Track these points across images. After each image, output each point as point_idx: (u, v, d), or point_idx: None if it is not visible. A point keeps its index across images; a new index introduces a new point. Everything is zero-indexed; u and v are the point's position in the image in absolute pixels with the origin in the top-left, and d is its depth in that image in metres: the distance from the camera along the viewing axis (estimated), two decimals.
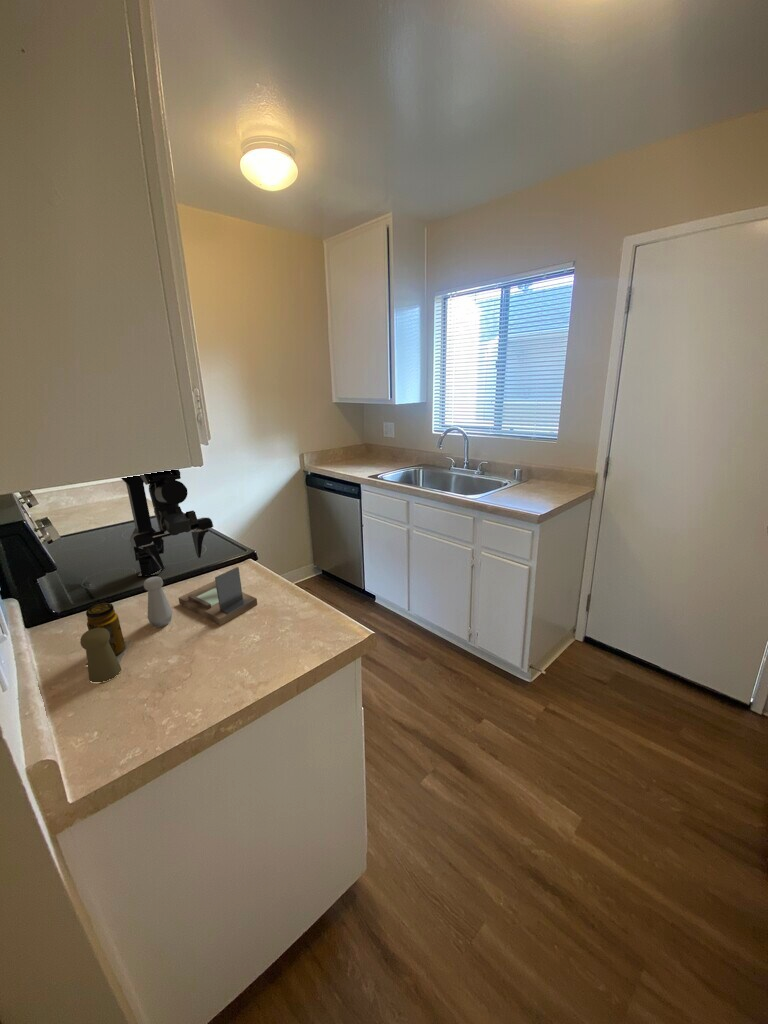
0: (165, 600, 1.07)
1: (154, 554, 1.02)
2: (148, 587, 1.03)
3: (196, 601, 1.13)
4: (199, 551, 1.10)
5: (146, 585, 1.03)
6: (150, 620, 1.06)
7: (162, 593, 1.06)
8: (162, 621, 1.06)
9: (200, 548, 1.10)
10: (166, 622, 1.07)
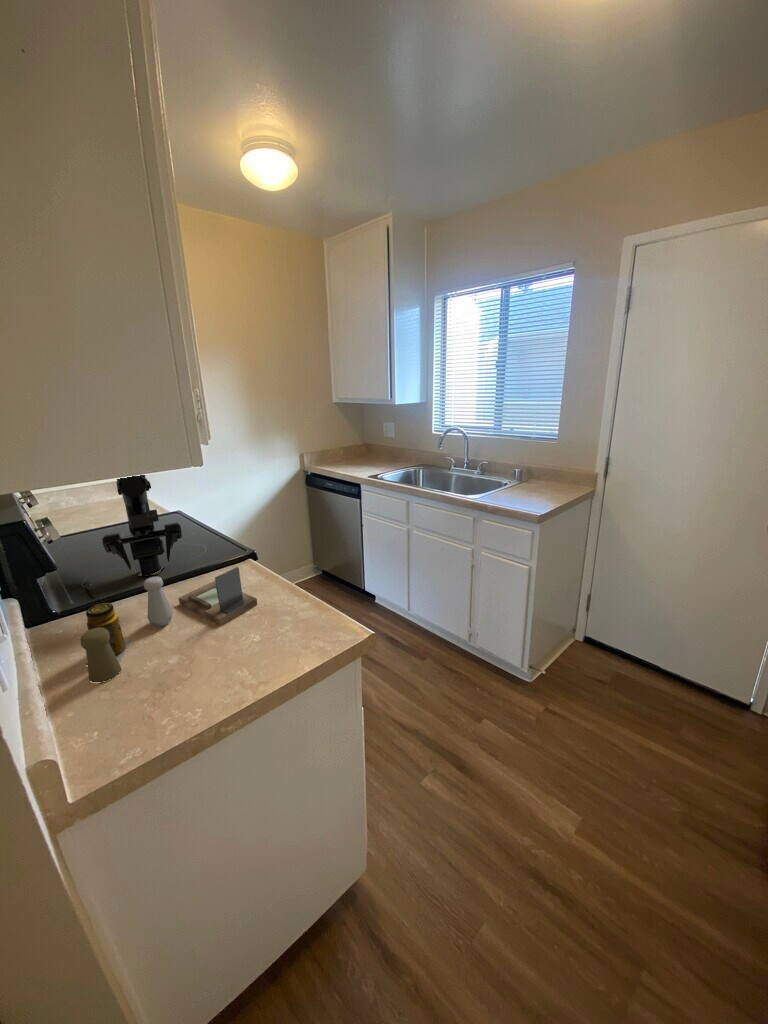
0: (165, 600, 1.07)
1: (121, 553, 1.09)
2: (148, 587, 1.03)
3: (196, 601, 1.13)
4: (168, 553, 1.13)
5: (146, 585, 1.03)
6: (150, 620, 1.06)
7: (162, 593, 1.06)
8: (162, 621, 1.06)
9: (169, 551, 1.14)
10: (166, 622, 1.07)
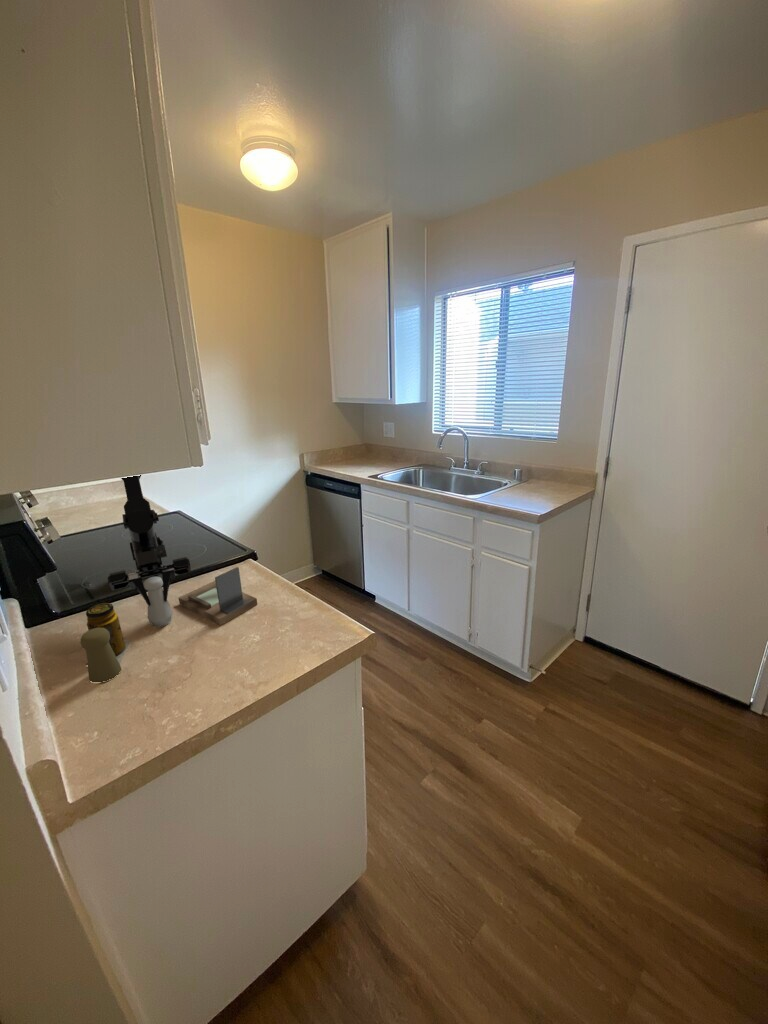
0: None
1: (140, 589, 1.04)
2: (148, 587, 1.03)
3: (196, 601, 1.13)
4: (164, 593, 1.06)
5: (145, 585, 1.03)
6: (150, 620, 1.06)
7: (162, 593, 1.06)
8: (162, 621, 1.06)
9: (166, 590, 1.07)
10: (166, 622, 1.07)
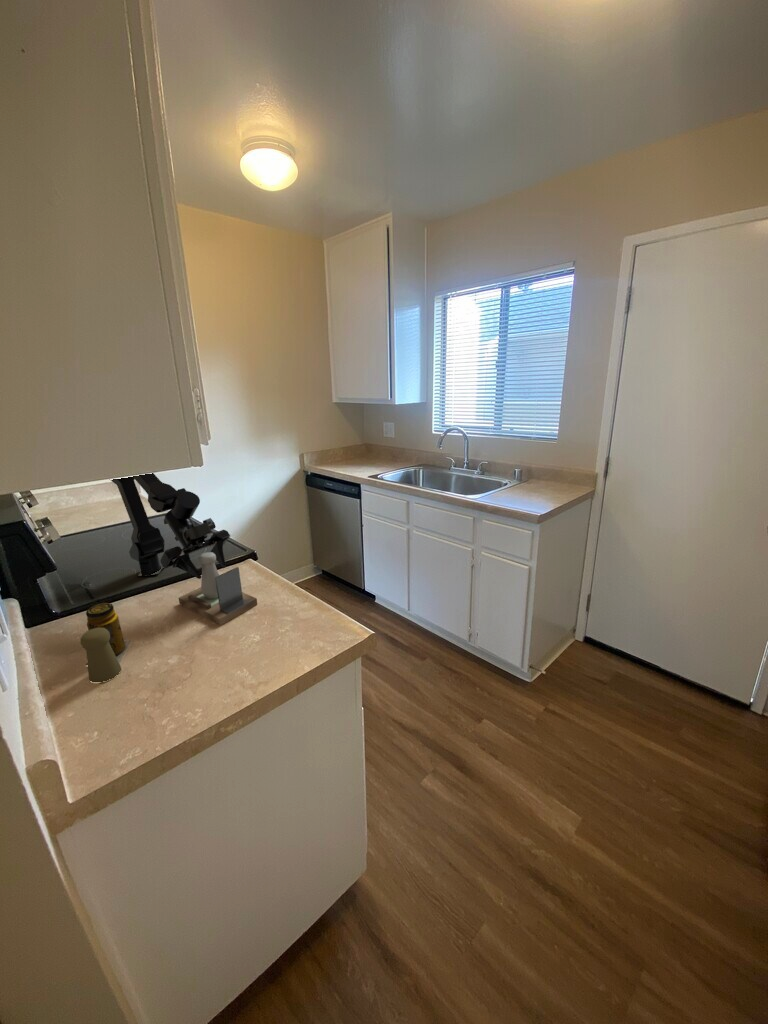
0: None
1: (189, 564, 1.10)
2: (207, 560, 1.12)
3: (196, 601, 1.13)
4: (223, 560, 1.17)
5: (204, 559, 1.12)
6: (208, 593, 1.14)
7: (215, 566, 1.15)
8: None
9: (223, 557, 1.17)
10: None
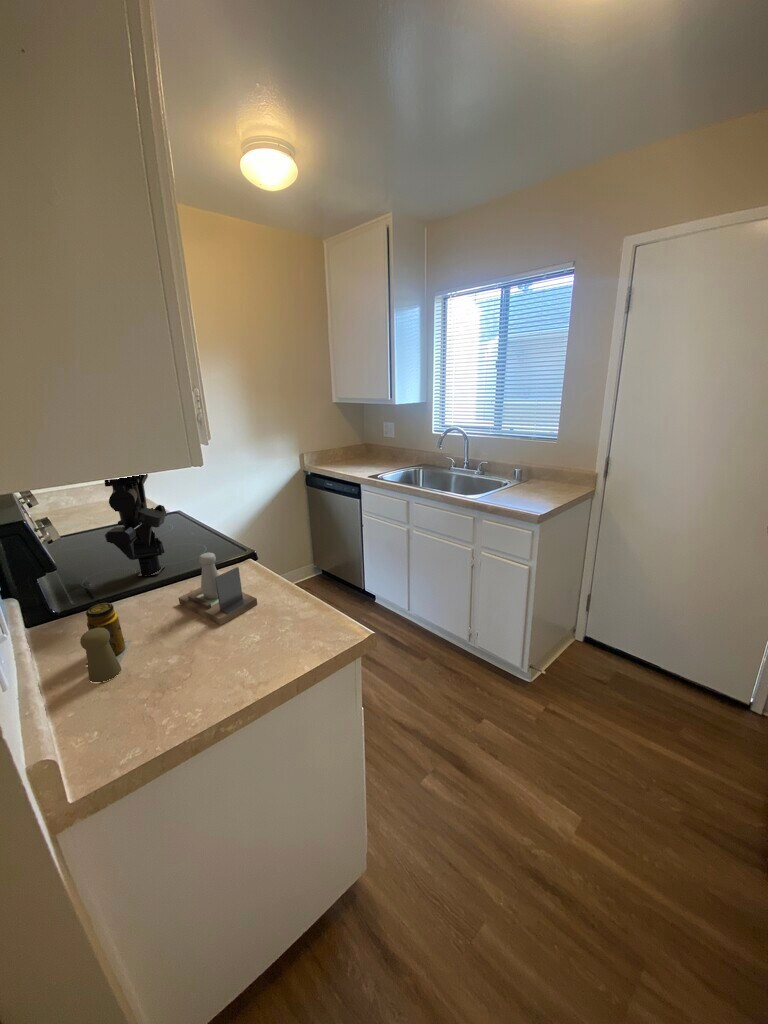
0: (217, 573, 1.16)
1: (131, 546, 1.13)
2: (207, 561, 1.12)
3: (196, 601, 1.13)
4: (149, 540, 1.24)
5: (204, 560, 1.11)
6: (208, 593, 1.14)
7: (215, 567, 1.15)
8: None
9: (150, 537, 1.24)
10: None
